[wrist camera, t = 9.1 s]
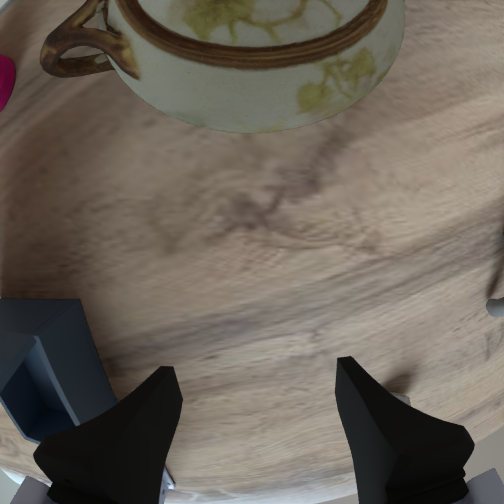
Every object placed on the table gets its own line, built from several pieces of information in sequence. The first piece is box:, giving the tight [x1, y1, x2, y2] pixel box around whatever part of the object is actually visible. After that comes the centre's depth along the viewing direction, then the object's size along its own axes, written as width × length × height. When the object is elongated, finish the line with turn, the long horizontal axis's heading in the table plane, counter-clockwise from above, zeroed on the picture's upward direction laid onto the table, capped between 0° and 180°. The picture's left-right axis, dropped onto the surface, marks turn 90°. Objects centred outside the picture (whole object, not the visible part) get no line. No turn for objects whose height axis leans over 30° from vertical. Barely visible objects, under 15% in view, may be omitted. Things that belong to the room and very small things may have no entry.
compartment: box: [0, 298, 117, 444], centre depth 22 cm, size 15×12×6 cm
